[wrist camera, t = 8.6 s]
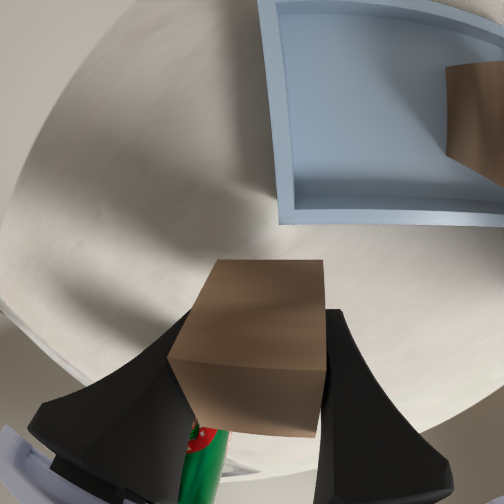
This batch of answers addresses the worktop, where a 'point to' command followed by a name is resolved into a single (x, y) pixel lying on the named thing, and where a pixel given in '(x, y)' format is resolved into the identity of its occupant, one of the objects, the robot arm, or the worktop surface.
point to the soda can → (203, 464)
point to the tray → (372, 111)
